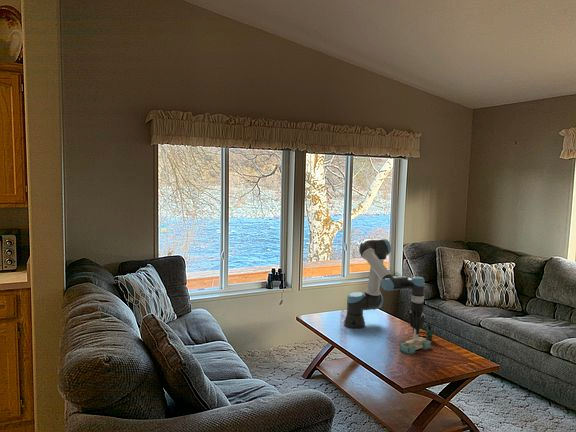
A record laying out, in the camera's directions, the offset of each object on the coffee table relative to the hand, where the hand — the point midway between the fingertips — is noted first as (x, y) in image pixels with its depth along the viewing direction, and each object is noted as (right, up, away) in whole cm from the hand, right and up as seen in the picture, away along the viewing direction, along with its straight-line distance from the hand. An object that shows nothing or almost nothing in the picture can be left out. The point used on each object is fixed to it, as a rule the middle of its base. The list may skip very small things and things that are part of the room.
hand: (415, 338), depth 272 cm
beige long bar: (0, -6, 0) cm, 6 cm away
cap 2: (+6, -7, +5) cm, 10 cm away
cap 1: (-6, -7, -4) cm, 10 cm away
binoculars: (+11, -6, +17) cm, 21 cm away
